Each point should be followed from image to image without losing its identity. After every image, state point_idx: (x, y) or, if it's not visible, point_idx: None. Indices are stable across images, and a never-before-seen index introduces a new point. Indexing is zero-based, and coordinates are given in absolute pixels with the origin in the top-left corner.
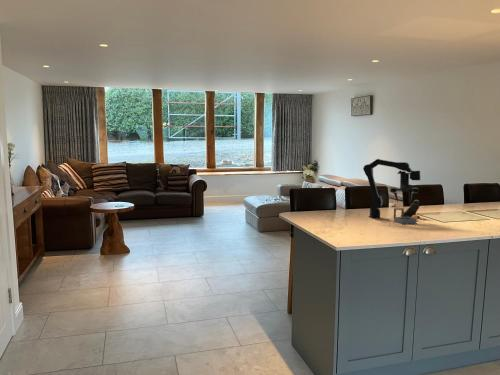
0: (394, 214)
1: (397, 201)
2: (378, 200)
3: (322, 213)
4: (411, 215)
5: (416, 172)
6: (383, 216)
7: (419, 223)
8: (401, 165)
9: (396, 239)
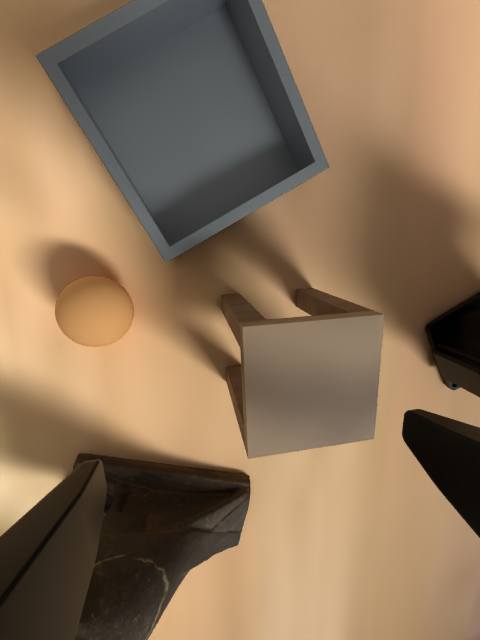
0: (332, 297)
1: (418, 414)
2: None
3: None
4: (151, 495)
5: None
6: (391, 416)
7: (26, 134)
8: None
9: None
